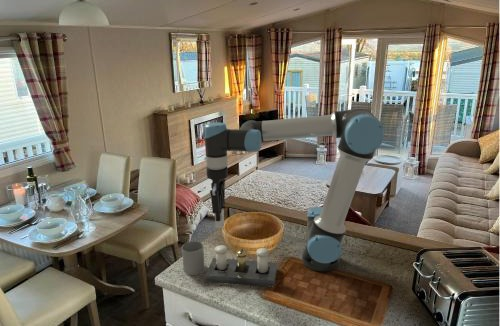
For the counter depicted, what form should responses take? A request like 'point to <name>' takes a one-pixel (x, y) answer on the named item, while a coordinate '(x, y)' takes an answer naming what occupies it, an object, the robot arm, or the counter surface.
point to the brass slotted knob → (241, 259)
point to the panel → (242, 274)
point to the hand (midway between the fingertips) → (219, 226)
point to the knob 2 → (262, 260)
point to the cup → (193, 257)
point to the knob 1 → (221, 257)
